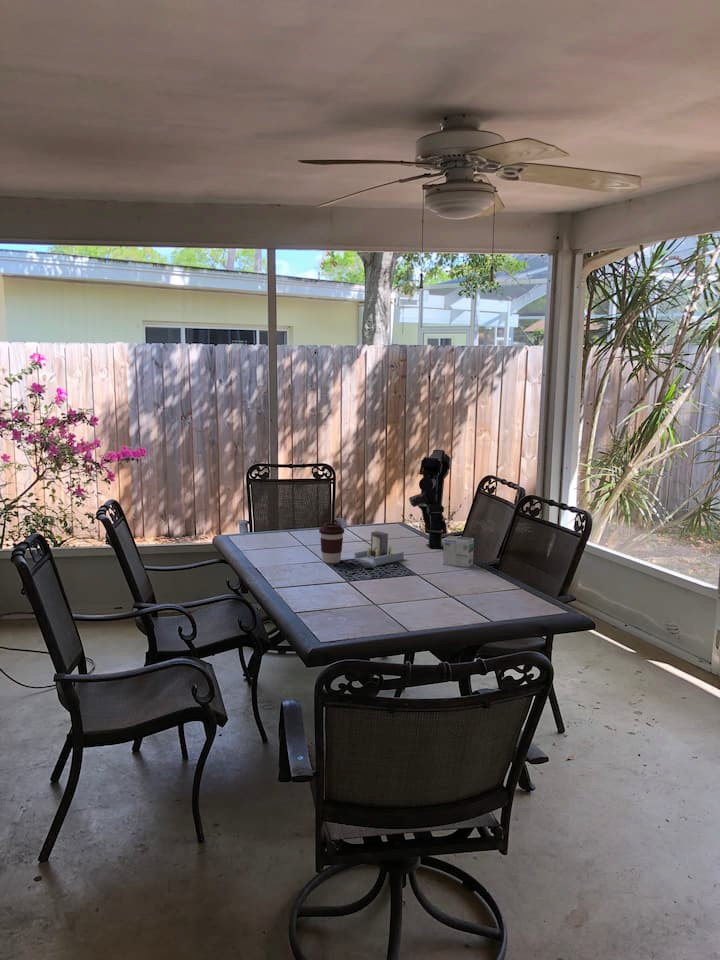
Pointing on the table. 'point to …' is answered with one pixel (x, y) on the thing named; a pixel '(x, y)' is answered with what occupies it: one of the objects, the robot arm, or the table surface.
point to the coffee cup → (331, 542)
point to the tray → (377, 557)
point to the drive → (379, 543)
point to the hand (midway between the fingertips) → (429, 525)
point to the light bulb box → (458, 551)
